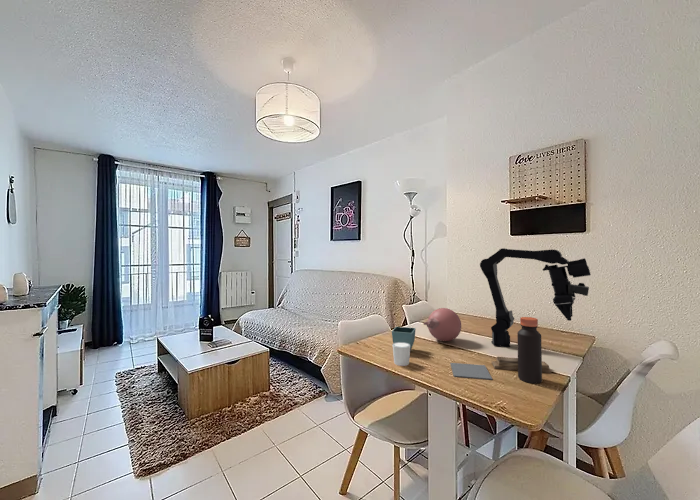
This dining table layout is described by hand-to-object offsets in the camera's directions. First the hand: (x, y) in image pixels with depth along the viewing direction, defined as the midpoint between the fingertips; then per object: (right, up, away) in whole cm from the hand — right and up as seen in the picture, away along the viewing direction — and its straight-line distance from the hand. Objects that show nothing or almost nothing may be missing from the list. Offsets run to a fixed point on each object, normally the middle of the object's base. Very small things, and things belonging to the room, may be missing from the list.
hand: (570, 318), depth 119 cm
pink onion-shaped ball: (-45, -16, +22) cm, 53 cm away
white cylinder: (-68, -16, -5) cm, 70 cm away
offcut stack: (-26, -15, -11) cm, 33 cm away
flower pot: (-65, -16, +9) cm, 67 cm away
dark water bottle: (-29, -15, -21) cm, 39 cm away
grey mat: (-46, -15, -14) cm, 50 cm away
